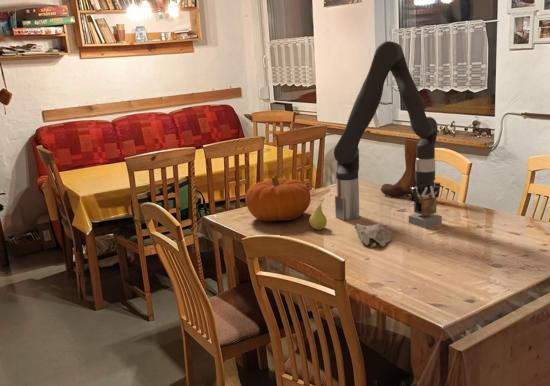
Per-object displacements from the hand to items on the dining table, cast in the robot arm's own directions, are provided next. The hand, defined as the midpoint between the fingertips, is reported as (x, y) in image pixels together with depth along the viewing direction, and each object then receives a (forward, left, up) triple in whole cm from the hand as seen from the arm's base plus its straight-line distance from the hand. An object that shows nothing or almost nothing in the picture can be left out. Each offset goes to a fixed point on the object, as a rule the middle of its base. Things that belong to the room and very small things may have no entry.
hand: (425, 210), depth 220 cm
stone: (-28, -3, -6) cm, 29 cm away
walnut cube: (0, 0, -1) cm, 1 cm away
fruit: (-37, +21, -6) cm, 43 cm away
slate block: (0, 0, -6) cm, 6 cm away
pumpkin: (-43, +44, -6) cm, 62 cm away
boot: (+19, +34, -6) cm, 39 cm away
